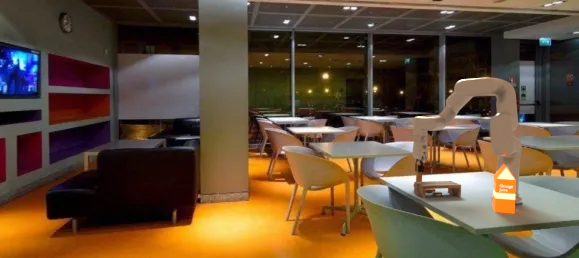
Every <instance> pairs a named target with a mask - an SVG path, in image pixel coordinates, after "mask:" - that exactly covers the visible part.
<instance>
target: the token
mask: <svg viewBox="0 0 579 258" xmlns="http://www.w3.org/2000/svg"><path fill="white" fill-rule="evenodd" d="M431 195H432V196H433V197H443V192H441V191H435V192H431Z"/></svg>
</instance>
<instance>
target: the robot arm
mask: <svg viewBox="0 0 579 258" xmlns="http://www.w3.org/2000/svg"><path fill="white" fill-rule="evenodd" d="M453 88H454V89H453V90H454V91H453V92H452V93H451V94H450V95H449V96H448V97H447V98H446V100H445V107H444V108H443V109H442V111H441V112H440V113H438V115H437V116H415V117H414V118H413V132H412V133H413V134H412V135H413V136H412V141H413V142H412V143H413V145H412V157H413V160H414V166H415V167H414V171H415V172H416V162H417V161H419V165H418V172H422V173H424V169H425V168H424V167H425V163H427V160H428V159H429V145H428V131H430V132H434V131H441V130H443V129H444V128H446V127H447V126H448V125H449V124H451V122H452V121H454V119H455V118H456V116H457V115H458V113H459V112H460V110H461V109H462V108H463V107H465V105H467V104H468V103H469V101H470V100H471V99H472V98H474V97H487V96H488V97H489V96H495V98H496V102H495V103H496V105H495V106H496V114H495V115H494V116H492V117H491V119H490V122H489V131H490V132H489V134H490V147H491V150H492V152H493V153H494V155H496V156H497V162H496V172H497V171H498V170H499V169H500V168H501V166H502V165H503V164H504V165H505V166H506V167H507V169H508V170H509V171H510V173H511V174H512V176H513V177H514V178H515V180H516V192H515V205H519V204H522V201H523V198H522V197H520V193H519V190H520V189H519V185H520V167H521V157H522V151H523V150H522V148H523V146H522V142H521V139H519V138H518V137H517V136H514V132H515V131H516V130H517V129H518V126H519V118H518V117H519V116H518V106H517V105H518V104H517V94H516V90H515V87H514V86H513V85H512V84H511V83H510V82H509V81H507V80H504V79H501V78H497V77H478V78H466V79H465V78H464V79H460V80H458V81H457V82H456V83H455V84H454V87H453ZM420 161H421V162H420ZM491 201H493V196H492V197H491Z"/></svg>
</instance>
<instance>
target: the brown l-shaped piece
mask: <svg viewBox="0 0 579 258" xmlns="http://www.w3.org/2000/svg"><path fill="white" fill-rule="evenodd" d="M420 162H421V161H420ZM418 165H419V161H417V162H416V171H415V182H423V172H418ZM432 192H436V189H426V193H432Z"/></svg>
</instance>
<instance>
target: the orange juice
mask: <svg viewBox="0 0 579 258" xmlns="http://www.w3.org/2000/svg"><path fill="white" fill-rule="evenodd" d="M492 185H493V186H492V189H493V190H492V197H493V200H492V205H491V206H492V209H493V211H494V212H495V213H504V214H514V215H515V210H516V209H515V207H516V204H515V192H516V180H515V178H514V177H513V176H512V174H511V173H510V171H509V170H508V169H507V167H506V166H505V165H504V164H503V165H502V166H501V168H500V169H499V170H498V171H497V170H496V172H495V174H493V184H492Z"/></svg>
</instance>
